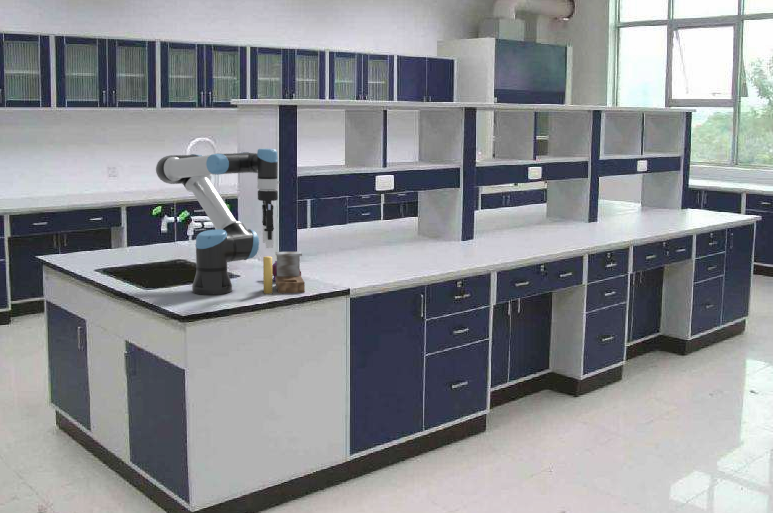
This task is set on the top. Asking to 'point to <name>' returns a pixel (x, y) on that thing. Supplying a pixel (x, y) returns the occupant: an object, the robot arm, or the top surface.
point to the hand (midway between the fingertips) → (267, 245)
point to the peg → (267, 274)
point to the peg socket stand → (289, 273)
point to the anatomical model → (274, 270)
